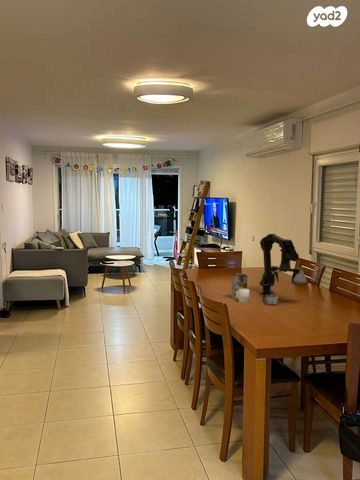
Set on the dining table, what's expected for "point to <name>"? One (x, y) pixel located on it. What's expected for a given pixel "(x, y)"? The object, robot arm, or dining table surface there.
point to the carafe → (271, 299)
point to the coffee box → (238, 283)
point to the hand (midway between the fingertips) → (284, 282)
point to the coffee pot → (300, 278)
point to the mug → (243, 295)
